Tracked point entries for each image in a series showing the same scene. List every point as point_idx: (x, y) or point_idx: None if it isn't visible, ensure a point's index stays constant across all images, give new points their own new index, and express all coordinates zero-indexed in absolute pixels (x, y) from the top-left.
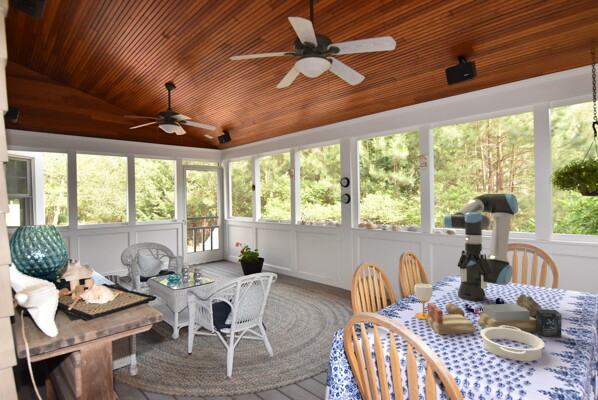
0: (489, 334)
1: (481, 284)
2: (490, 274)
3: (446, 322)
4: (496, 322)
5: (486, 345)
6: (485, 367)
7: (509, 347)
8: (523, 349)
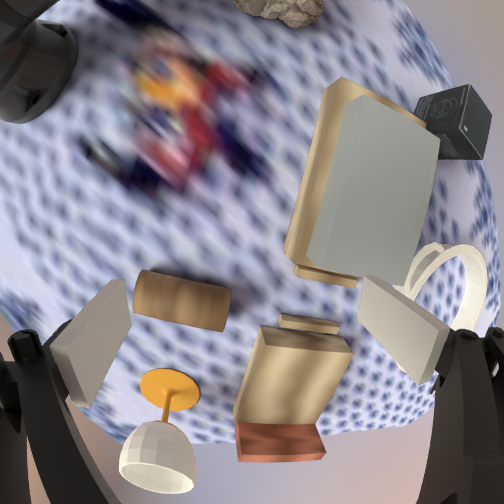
0: None
1: (372, 332)
2: (491, 334)
3: (309, 413)
4: None
5: None
6: (429, 387)
7: None
8: (471, 329)
